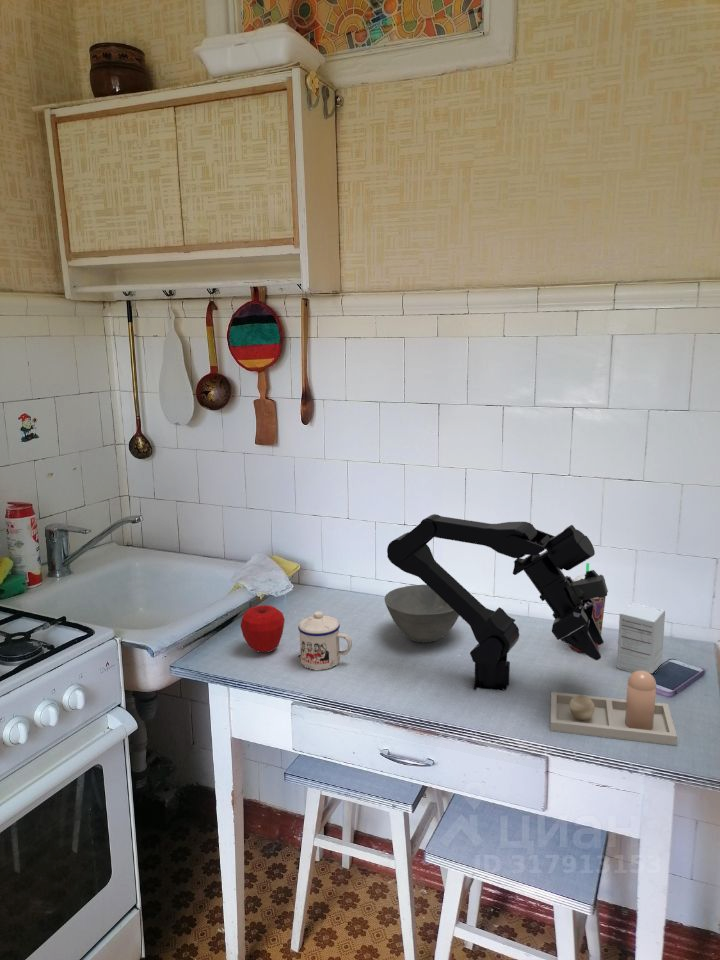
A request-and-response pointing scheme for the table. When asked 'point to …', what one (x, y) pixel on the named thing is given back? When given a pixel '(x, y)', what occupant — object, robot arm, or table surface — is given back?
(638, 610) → the supplement box
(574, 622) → the robot arm
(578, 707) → the beige lumpy ball
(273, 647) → the apple
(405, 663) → the table surface
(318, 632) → the teacup with lid
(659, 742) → the pulp tray
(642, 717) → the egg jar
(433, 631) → the bowl
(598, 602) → the smoothie
